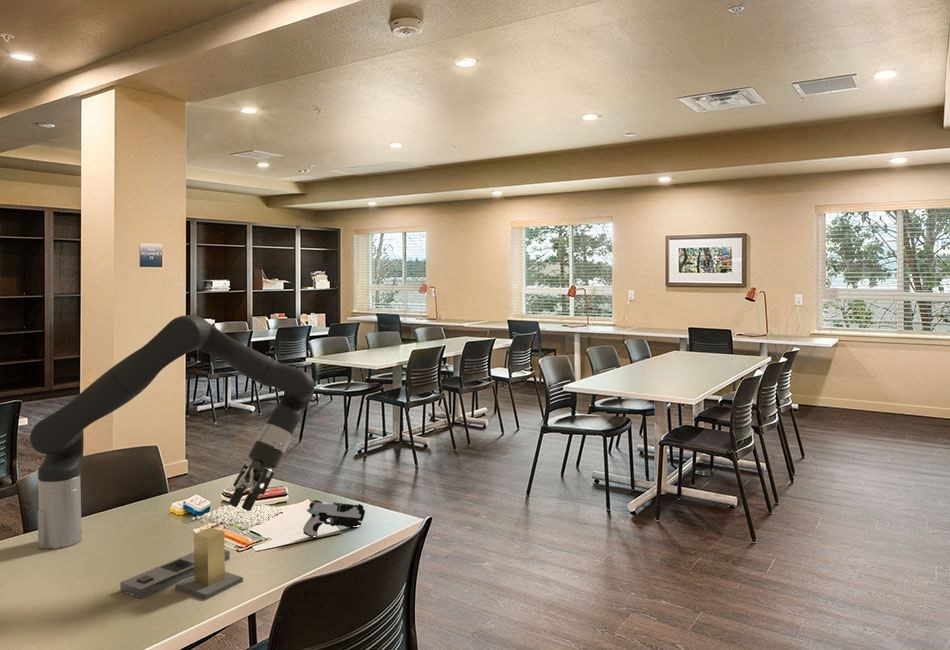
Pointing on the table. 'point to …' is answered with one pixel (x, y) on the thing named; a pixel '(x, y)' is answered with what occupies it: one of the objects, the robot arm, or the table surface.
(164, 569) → the rail
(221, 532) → the brass block
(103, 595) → the table surface
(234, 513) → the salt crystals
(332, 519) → the toy gun
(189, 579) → the mat
